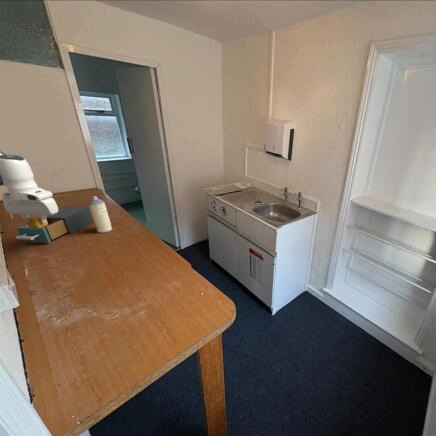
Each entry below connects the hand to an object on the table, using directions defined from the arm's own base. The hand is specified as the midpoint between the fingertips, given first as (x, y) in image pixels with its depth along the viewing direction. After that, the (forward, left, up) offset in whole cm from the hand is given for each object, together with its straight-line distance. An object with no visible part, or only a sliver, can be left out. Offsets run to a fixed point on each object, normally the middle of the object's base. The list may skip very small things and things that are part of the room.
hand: (37, 222), depth 106 cm
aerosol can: (+11, +21, -14) cm, 28 cm away
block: (0, 0, -2) cm, 2 cm away
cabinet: (-10, +23, -14) cm, 29 cm away
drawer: (-10, +9, -13) cm, 18 cm away
